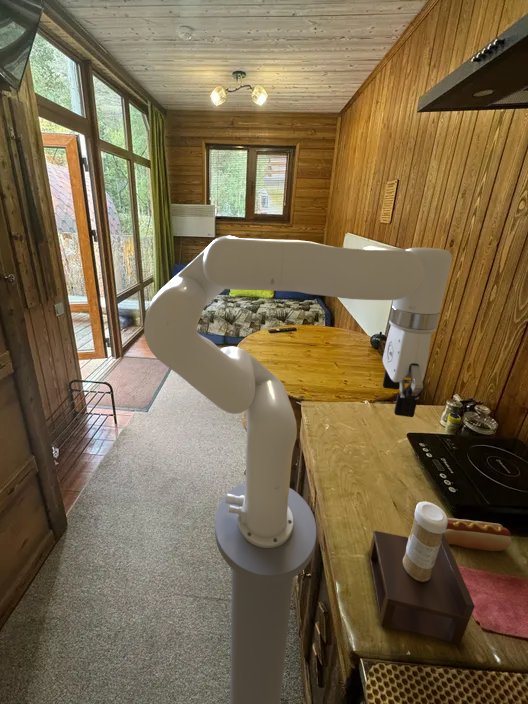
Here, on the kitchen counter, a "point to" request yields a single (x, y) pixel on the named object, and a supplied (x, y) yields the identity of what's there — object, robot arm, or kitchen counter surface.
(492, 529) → the food
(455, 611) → the spice rack
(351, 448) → the kitchen counter surface
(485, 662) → the kitchen counter surface
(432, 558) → the sprinkles bottle
